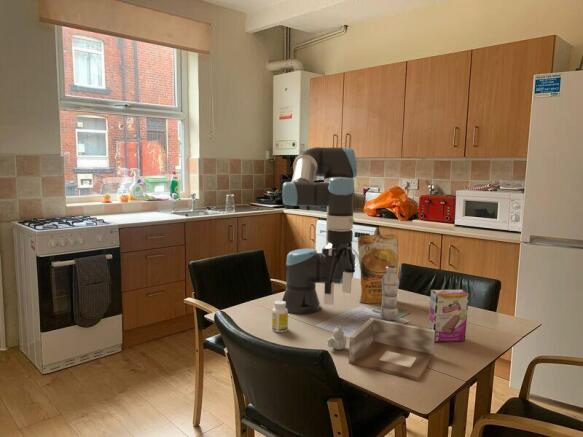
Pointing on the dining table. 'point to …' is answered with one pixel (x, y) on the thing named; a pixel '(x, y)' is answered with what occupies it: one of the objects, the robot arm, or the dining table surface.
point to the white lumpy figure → (337, 339)
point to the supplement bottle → (279, 317)
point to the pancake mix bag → (375, 264)
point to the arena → (392, 348)
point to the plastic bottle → (389, 294)
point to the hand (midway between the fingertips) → (338, 298)
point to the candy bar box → (448, 315)
